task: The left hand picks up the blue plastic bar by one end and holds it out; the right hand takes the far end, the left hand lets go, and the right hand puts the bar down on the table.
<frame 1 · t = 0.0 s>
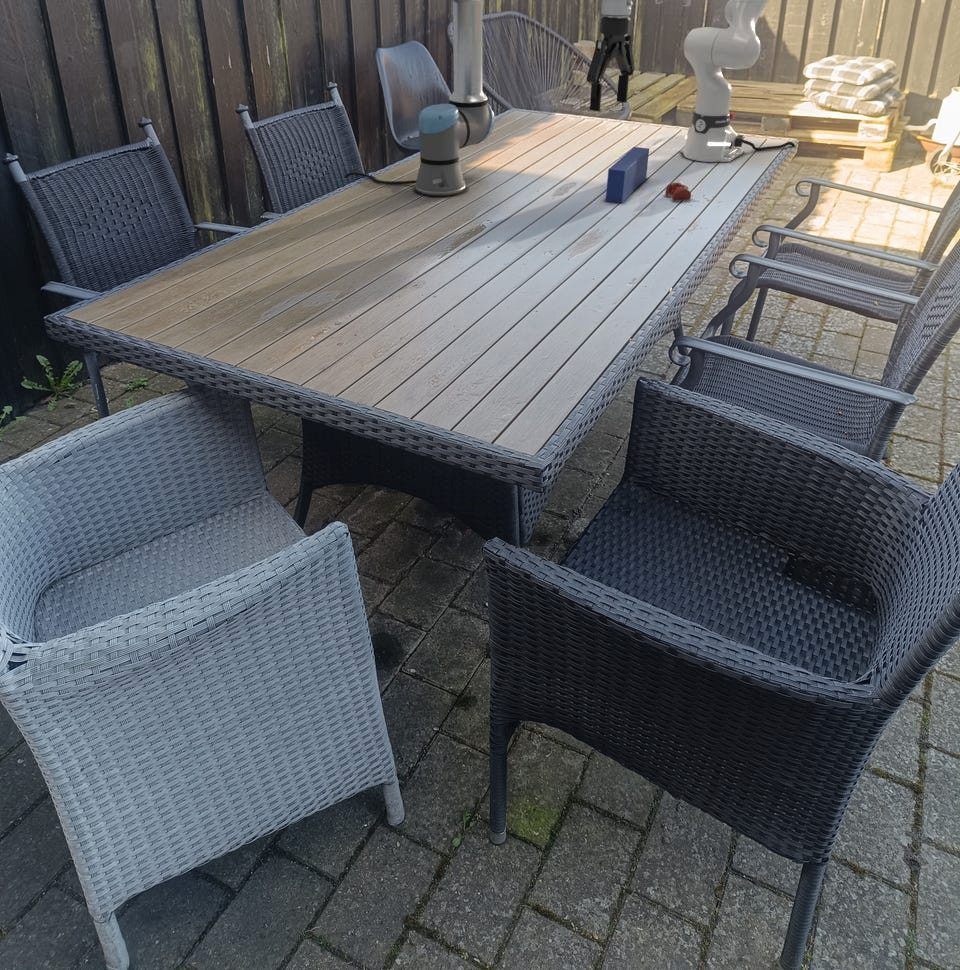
left hand: (608, 106, 226), 28 cm above the table, tool pointing down, fingers open, 13 cm apart
right hand: (672, 4, 244), 48 cm above the table, tool pointing down, fingers open, 8 cm apart
dental model: (677, 197, 252), on the table
bar: (626, 189, 259), on the table
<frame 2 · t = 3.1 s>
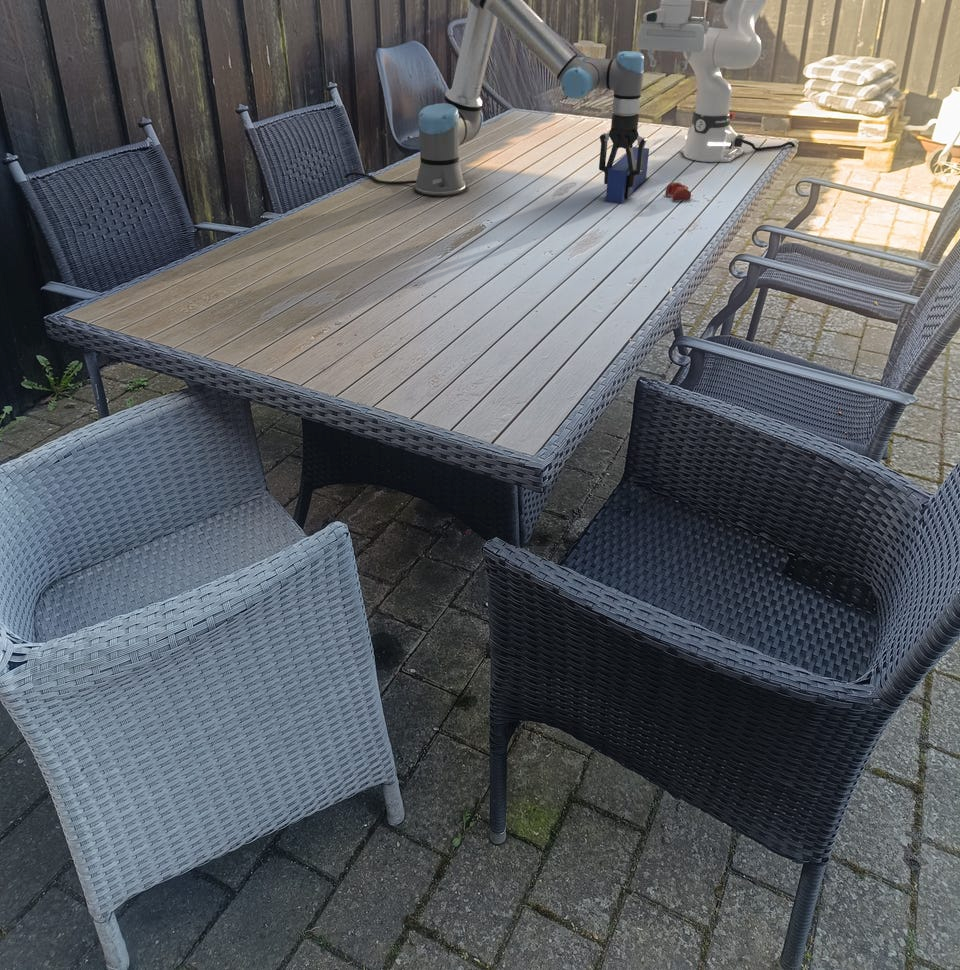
left hand: (617, 196, 251), 1 cm above the table, tool pointing down, fingers closed on bar, 5 cm apart
right hand: (668, 67, 254), 31 cm above the table, tool pointing down, fingers open, 8 cm apart
bar: (626, 189, 259), on the table, touching left hand
everything else where it was.
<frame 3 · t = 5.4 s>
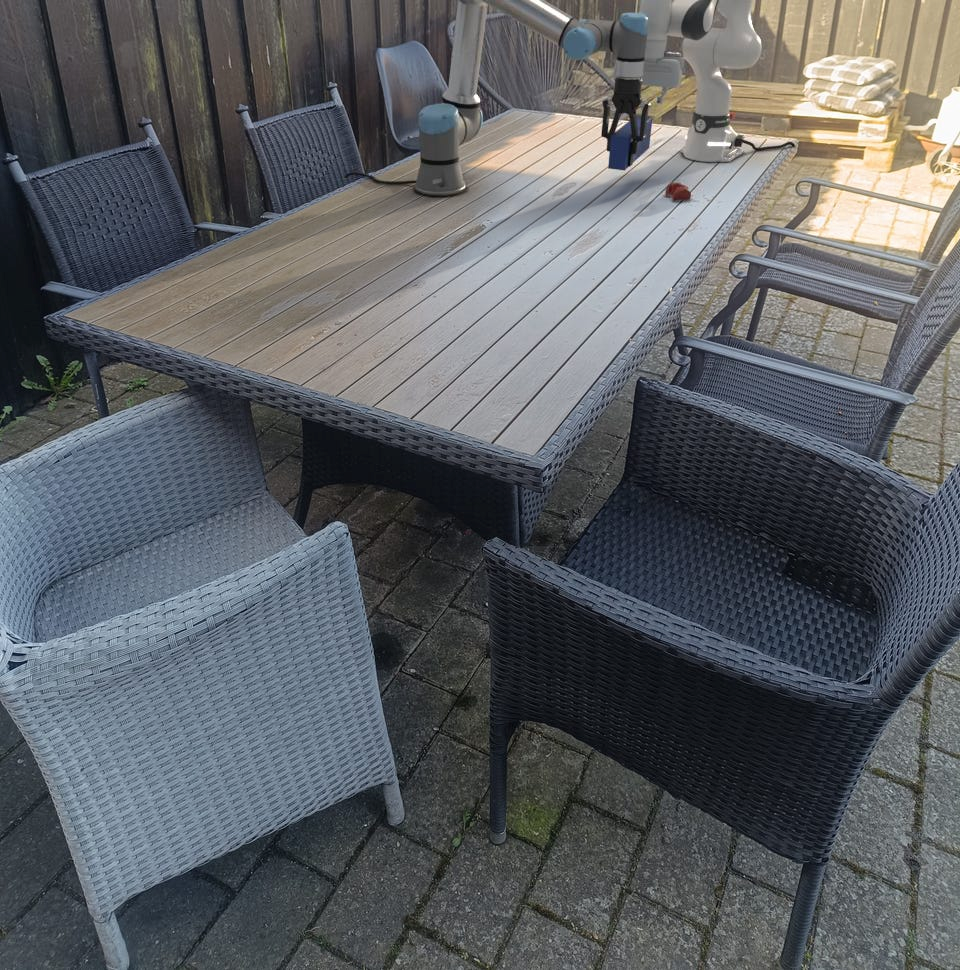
left hand: (620, 164, 246), 10 cm above the table, tool pointing down, fingers closed on bar, 5 cm apart
right hand: (644, 101, 253), 23 cm above the table, tool pointing down, fingers open, 8 cm apart
bar: (629, 157, 253), point 9 cm above the table, touching left hand
everything else where it was.
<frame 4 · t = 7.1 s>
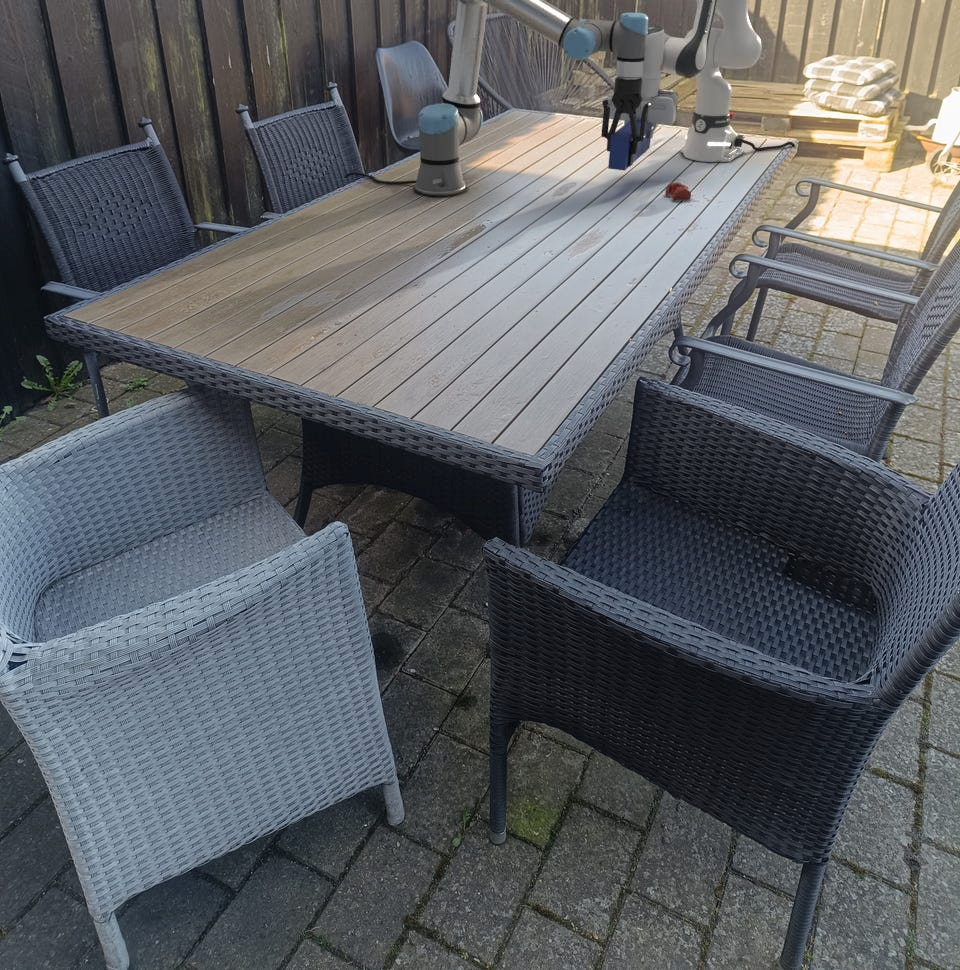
left hand: (620, 164, 246), 10 cm above the table, tool pointing down, fingers closed on bar, 5 cm apart
right hand: (639, 136, 258), 13 cm above the table, tool pointing down, fingers closed on bar, 5 cm apart
bar: (629, 157, 253), point 9 cm above the table, touching left hand, right hand
everything else where it was.
when the left hand's fingers open (10 cm above the table, at t = 8.1 s): bar stays where it is, held by the right hand.
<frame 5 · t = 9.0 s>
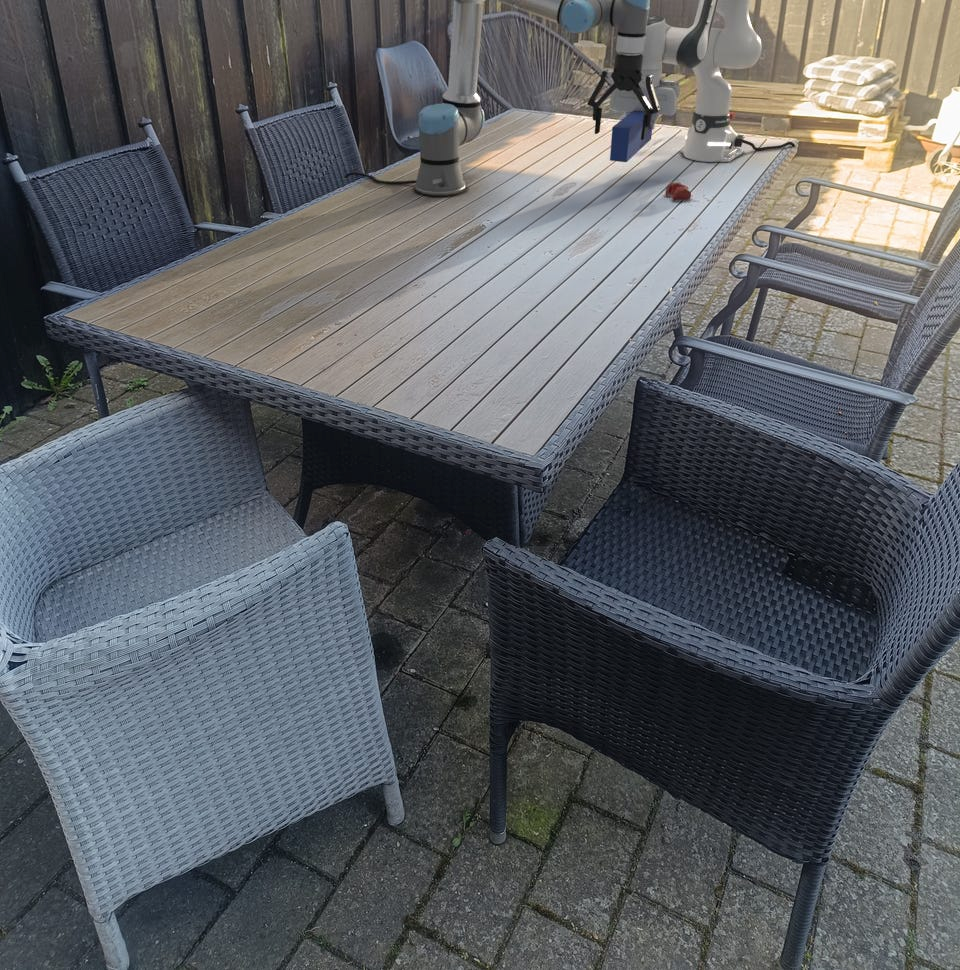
left hand: (619, 135, 240), 18 cm above the table, tool pointing down, fingers open, 13 cm apart
right hand: (641, 128, 257), 16 cm above the table, tool pointing down, fingers closed on bar, 5 cm apart
bar: (631, 149, 252), point 12 cm above the table, touching right hand
everything else where it was.
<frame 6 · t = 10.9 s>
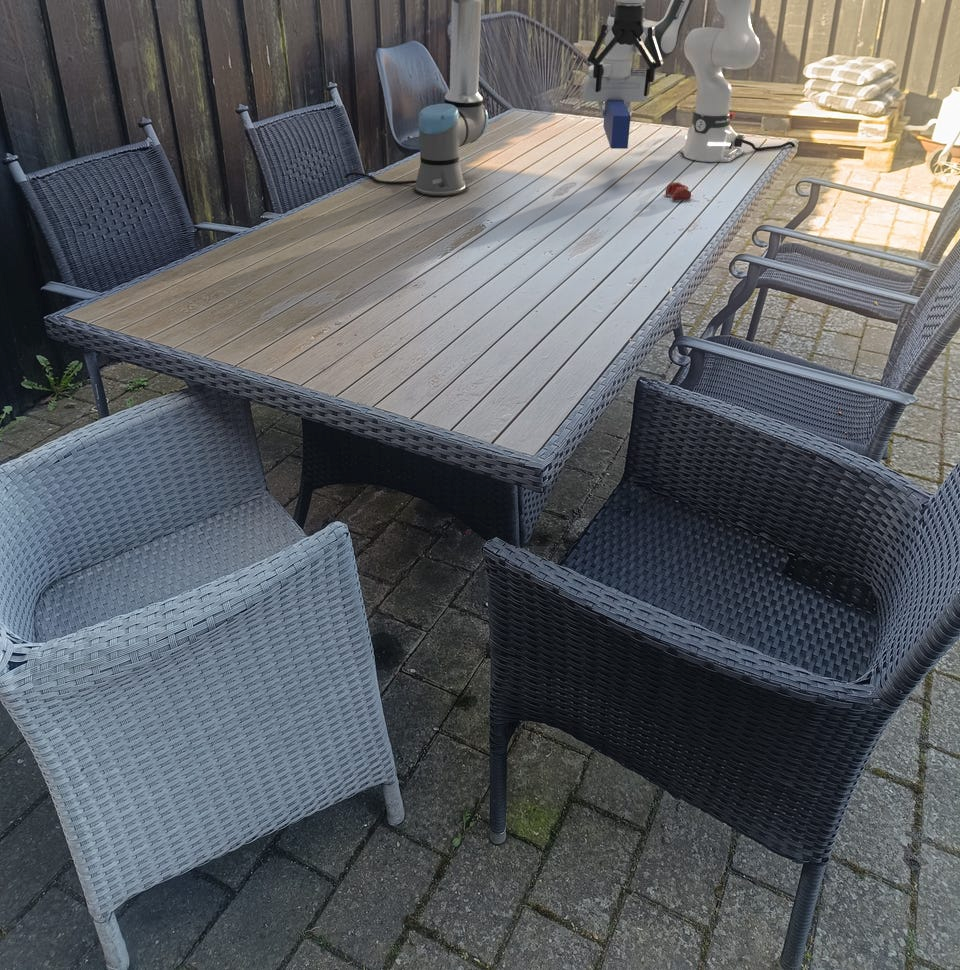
left hand: (622, 93, 230), 30 cm above the table, tool pointing down, fingers open, 13 cm apart
right hand: (613, 116, 268), 16 cm above the table, tool pointing down, fingers closed on bar, 5 cm apart
bar: (614, 137, 263), point 12 cm above the table, touching right hand
everything else where it was.
when the right hand's fingers open (5 cm above the table, at t = 15.1 s): bar stays where it is, on the table.
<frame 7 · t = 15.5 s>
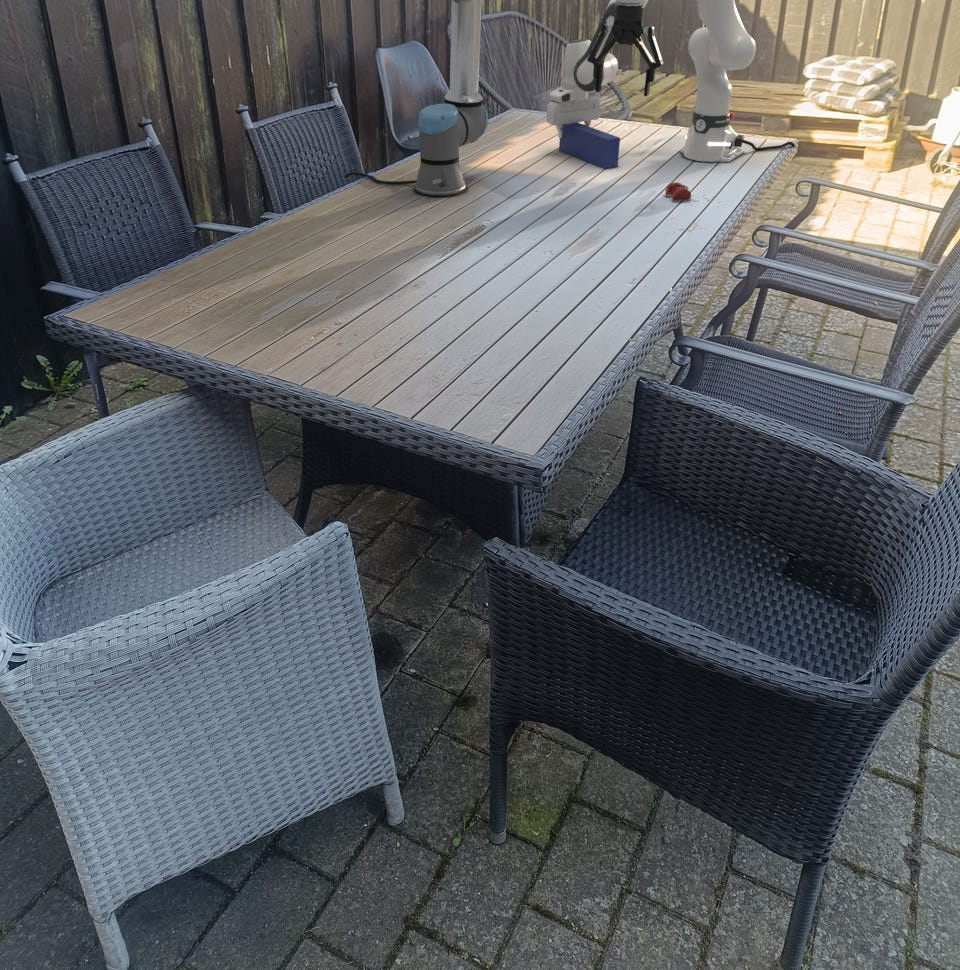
left hand: (622, 93, 230), 30 cm above the table, tool pointing down, fingers open, 13 cm apart
right hand: (572, 135, 292), 5 cm above the table, tool pointing down, fingers open, 8 cm apart
bar: (587, 158, 288), on the table
everything else where it was.
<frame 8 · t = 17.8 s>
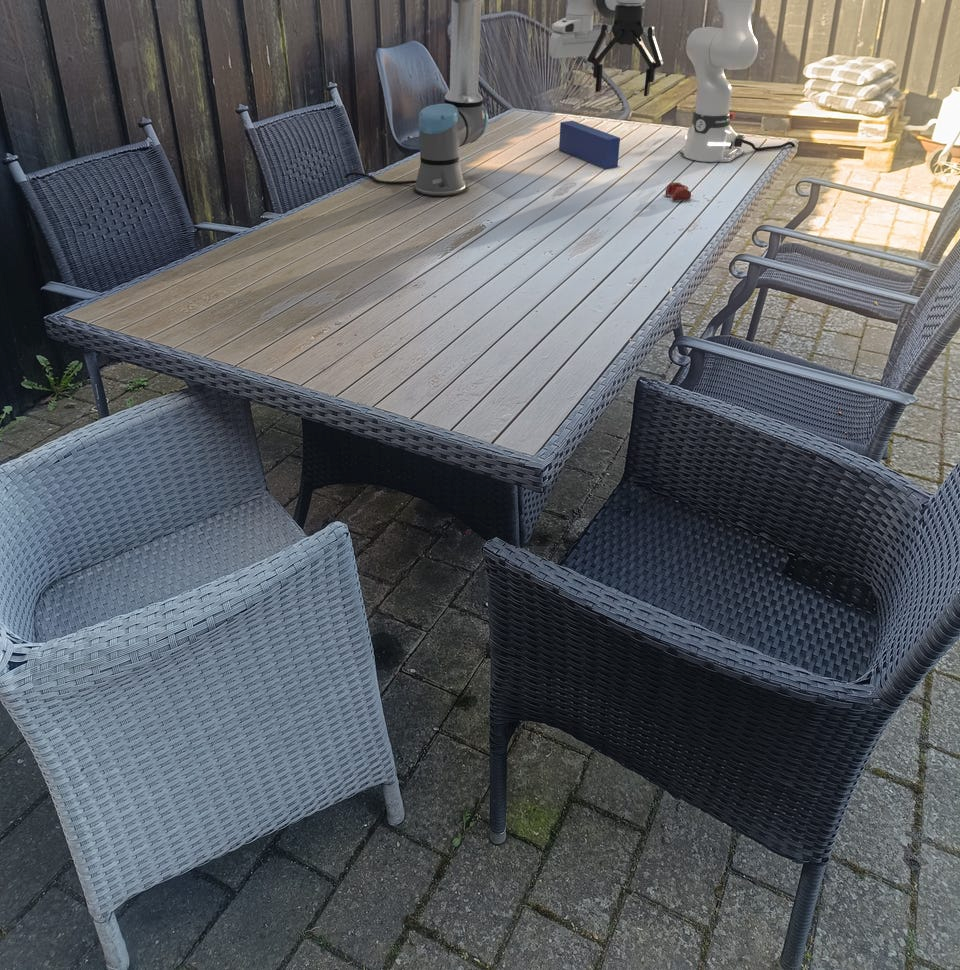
left hand: (622, 93, 230), 30 cm above the table, tool pointing down, fingers open, 13 cm apart
right hand: (576, 71, 280), 26 cm above the table, tool pointing down, fingers open, 8 cm apart
nothing on the table moved.
at the end: bar inside the target area (9.6 cm from its centre), on the table; the left hand is holding nothing; the right hand is holding nothing; bar at rest at the end (0.0 cm/s) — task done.
